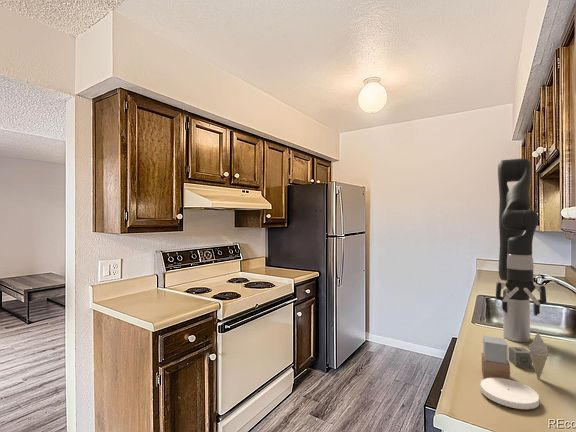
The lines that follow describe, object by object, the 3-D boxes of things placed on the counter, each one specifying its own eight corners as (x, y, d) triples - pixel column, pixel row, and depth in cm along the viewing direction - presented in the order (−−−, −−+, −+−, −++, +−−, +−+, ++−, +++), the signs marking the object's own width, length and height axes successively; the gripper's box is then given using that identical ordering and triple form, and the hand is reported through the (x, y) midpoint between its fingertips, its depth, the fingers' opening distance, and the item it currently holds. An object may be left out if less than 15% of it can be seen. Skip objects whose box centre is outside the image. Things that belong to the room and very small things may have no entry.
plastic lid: (482, 381, 103) (482, 373, 103) (538, 394, 95) (537, 386, 95) (478, 402, 92) (478, 393, 92) (541, 419, 84) (540, 409, 84)
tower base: (481, 370, 110) (481, 352, 110) (506, 374, 107) (506, 356, 107) (483, 379, 103) (483, 361, 103) (510, 384, 100) (509, 365, 100)
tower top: (483, 353, 109) (483, 335, 109) (504, 356, 106) (504, 338, 106) (485, 360, 104) (484, 341, 104) (507, 364, 101) (507, 345, 101)
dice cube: (508, 360, 117) (508, 346, 117) (523, 361, 116) (523, 347, 116) (516, 367, 112) (515, 352, 112) (532, 367, 111) (531, 353, 111)
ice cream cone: (547, 377, 104) (546, 330, 104) (550, 384, 100) (549, 335, 100) (527, 373, 107) (527, 327, 107) (529, 380, 103) (529, 332, 103)
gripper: (542, 266, 114) (542, 313, 114) (494, 264, 120) (494, 308, 120) (548, 270, 107) (548, 319, 107) (497, 267, 113) (497, 314, 113)
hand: (520, 313), depth 113 cm, fingers open, 8 cm apart
